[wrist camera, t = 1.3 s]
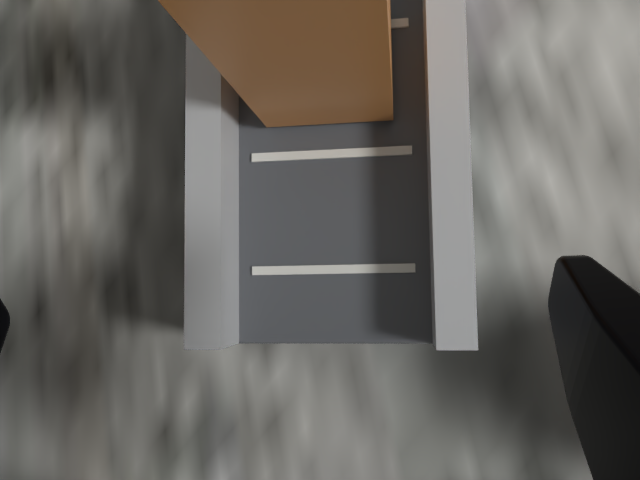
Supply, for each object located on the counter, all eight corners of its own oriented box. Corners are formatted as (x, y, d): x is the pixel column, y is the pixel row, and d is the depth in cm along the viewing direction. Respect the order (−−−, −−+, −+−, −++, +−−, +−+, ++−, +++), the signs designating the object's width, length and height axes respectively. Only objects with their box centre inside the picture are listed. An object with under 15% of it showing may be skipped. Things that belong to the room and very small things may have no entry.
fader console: (463, 337, 20) (478, 350, 16) (223, 338, 22) (183, 349, 18) (446, -155, 22) (456, -251, 18) (223, -127, 23) (187, -212, 19)
